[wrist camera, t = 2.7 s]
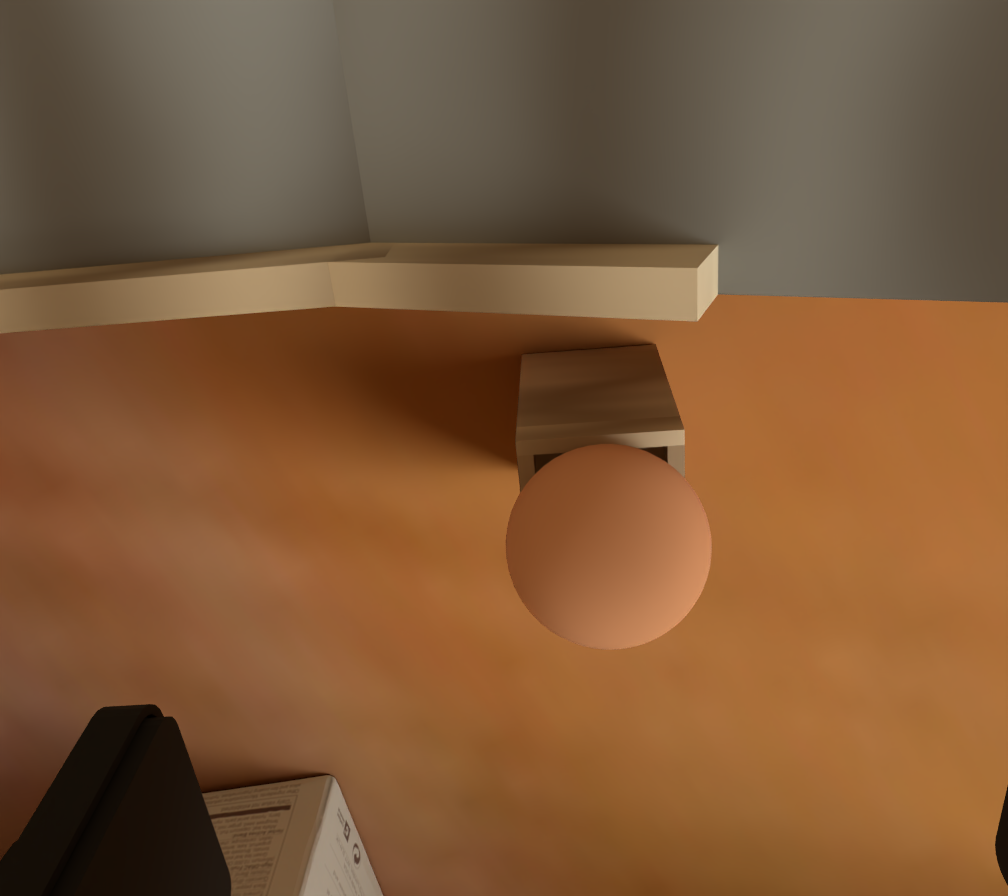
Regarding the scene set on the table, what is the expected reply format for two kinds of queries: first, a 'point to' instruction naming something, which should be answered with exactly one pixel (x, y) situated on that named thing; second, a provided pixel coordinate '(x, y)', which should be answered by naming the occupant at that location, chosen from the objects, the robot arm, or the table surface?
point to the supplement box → (291, 840)
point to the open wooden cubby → (595, 406)
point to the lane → (496, 155)
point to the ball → (608, 546)
